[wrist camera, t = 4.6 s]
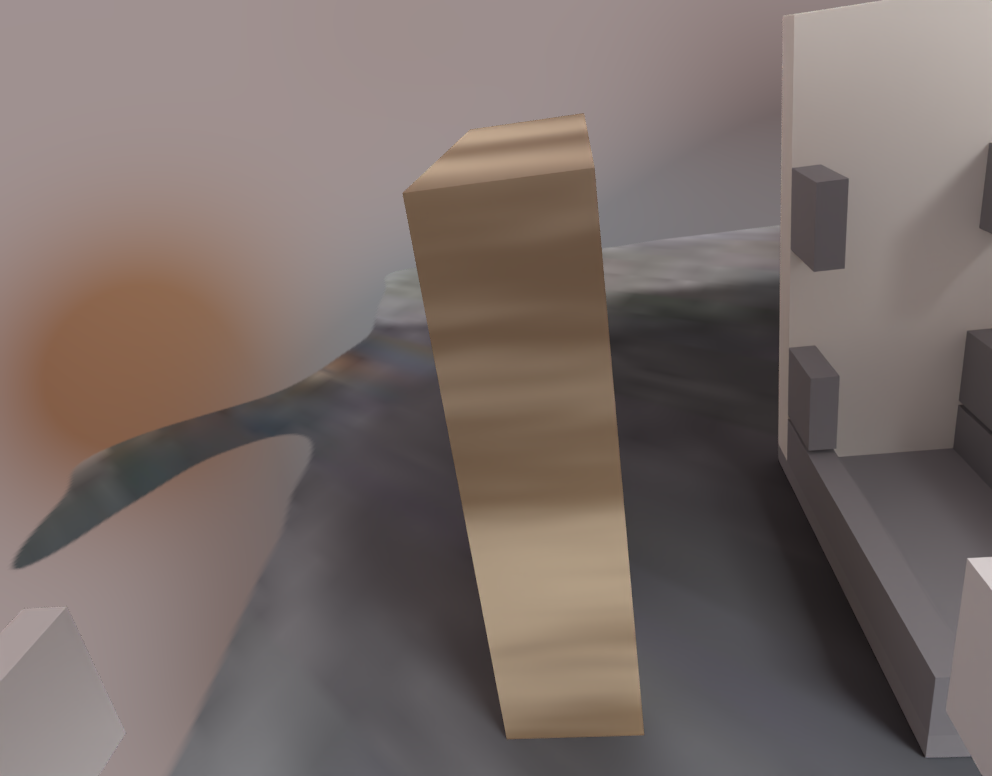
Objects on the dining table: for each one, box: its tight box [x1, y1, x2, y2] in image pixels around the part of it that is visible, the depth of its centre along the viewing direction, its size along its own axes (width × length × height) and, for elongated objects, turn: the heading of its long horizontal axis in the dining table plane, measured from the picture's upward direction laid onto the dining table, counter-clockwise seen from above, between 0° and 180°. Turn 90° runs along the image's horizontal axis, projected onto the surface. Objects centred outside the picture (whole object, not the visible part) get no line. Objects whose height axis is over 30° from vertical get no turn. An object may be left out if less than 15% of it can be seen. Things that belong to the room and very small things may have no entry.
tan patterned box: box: [403, 113, 644, 739], centre depth 24 cm, size 12×4×16 cm, turn 175°
